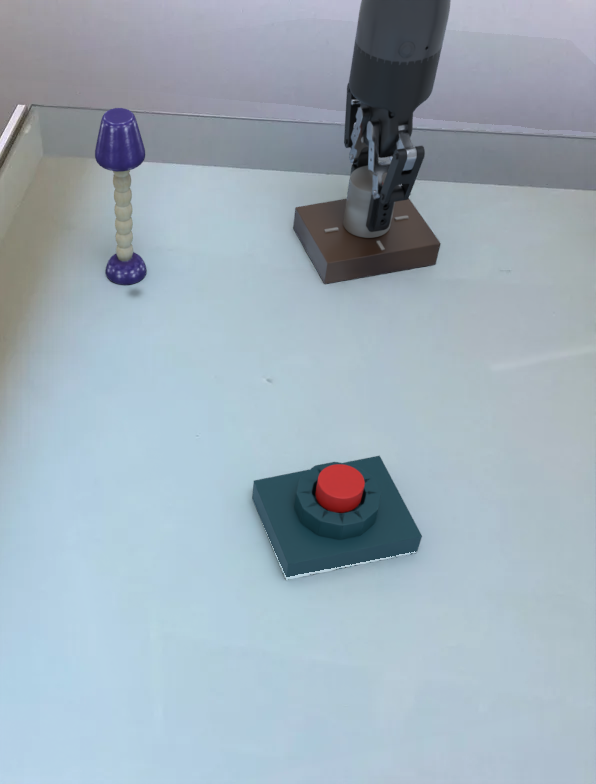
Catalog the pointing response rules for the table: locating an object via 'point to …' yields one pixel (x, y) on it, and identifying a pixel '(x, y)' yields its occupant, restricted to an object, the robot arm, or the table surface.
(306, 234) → the dimmer panel
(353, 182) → the dimmer knob
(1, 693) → the table surface
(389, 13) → the robot arm
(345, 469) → the light button
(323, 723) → the table surface
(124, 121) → the toy lamp
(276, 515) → the switch block
